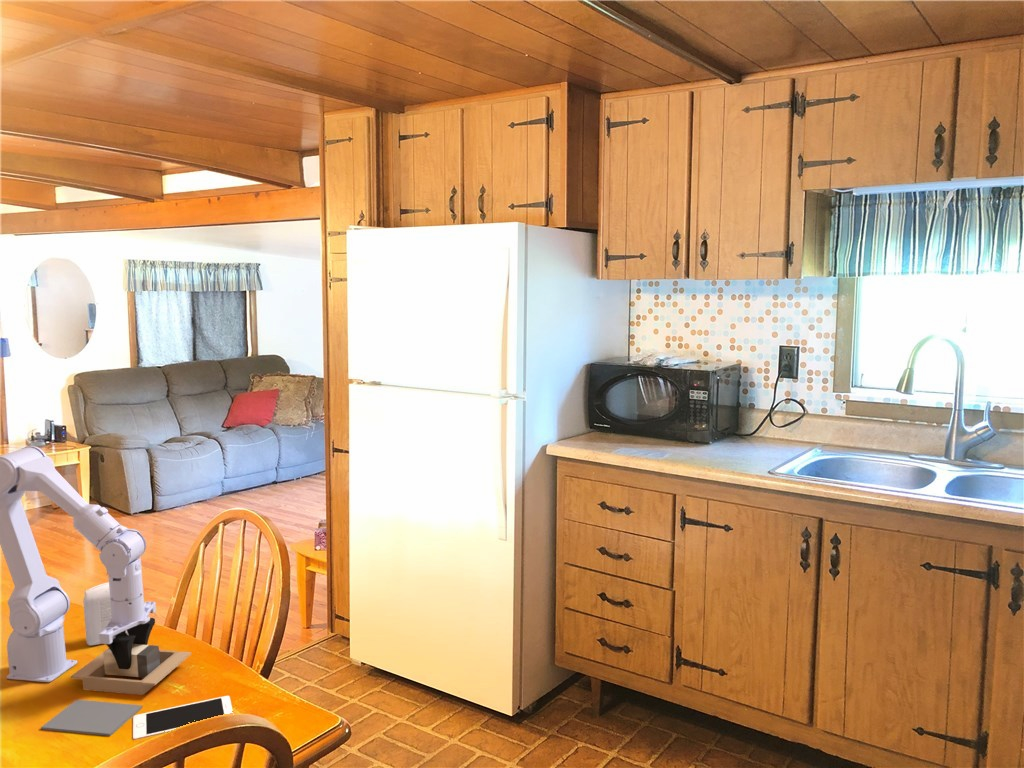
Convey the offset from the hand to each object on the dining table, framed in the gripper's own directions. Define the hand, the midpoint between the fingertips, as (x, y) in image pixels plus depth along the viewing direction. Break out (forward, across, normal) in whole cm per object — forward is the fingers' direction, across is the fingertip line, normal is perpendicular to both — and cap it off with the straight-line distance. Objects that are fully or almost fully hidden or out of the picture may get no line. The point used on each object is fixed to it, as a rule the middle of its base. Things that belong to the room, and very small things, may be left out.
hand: (132, 662), depth 157 cm
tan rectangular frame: (+3, 0, 0) cm, 3 cm away
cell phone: (+3, -12, -18) cm, 21 cm away
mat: (+3, -14, -2) cm, 15 cm away
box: (+2, 0, 0) cm, 2 cm away
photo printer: (+3, +14, +14) cm, 20 cm away
